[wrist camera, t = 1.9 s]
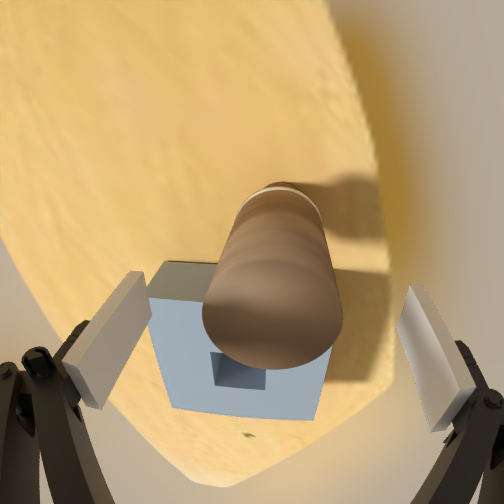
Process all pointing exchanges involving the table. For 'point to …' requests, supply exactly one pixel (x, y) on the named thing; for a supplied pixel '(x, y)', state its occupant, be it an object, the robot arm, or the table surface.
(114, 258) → the table surface
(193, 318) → the seat block
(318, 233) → the peg
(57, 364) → the robot arm
